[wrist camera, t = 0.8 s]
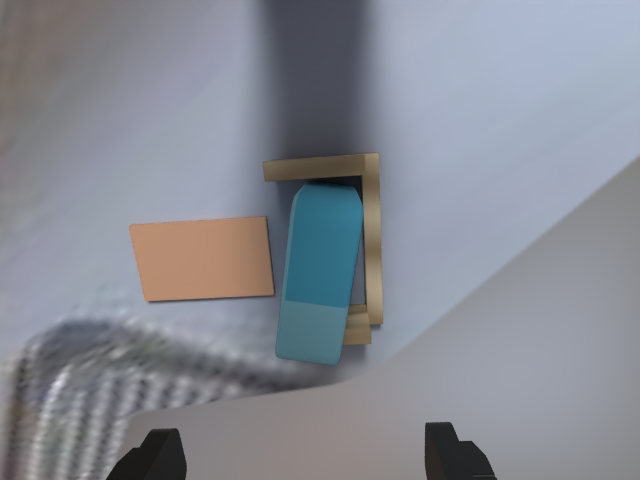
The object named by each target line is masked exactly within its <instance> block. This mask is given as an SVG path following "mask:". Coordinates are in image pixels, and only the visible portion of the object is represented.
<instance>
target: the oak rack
mask: <svg viewBox="0 0 640 480" xmlns="http://www.w3.org/2000/svg"><path fill="white" fill-rule="evenodd" d="M263 170H264V179H265V181H280V180H295V179H310V178H325V177H340V176H355V175H361V188H362V204H363V240H364V266H365V292H366V304H355V305H349V308H348V314H347V320H346V326H345V332H344V338H343V344H342V345H356V344H371V327H370V324H383V304H382V264H381V224H380V183H379V153H363V154H349V155H335V156H321V157H307V158H293V159H279V160H271V161H266V162H263Z"/></svg>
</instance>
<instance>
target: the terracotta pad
mask: <svg viewBox="0 0 640 480" xmlns="http://www.w3.org/2000/svg"><path fill="white" fill-rule="evenodd" d="M129 230H130V235H131V239H132V244H133V248H134V253H135V258H136V262H137V267H138V271H139V276H140V280H141V285H142V289H143V294H144V298H145V301H158V300H179V299H200V298H221V297H242V296H263V295H274V294H275V288H274V279H273V270H272V261H271V252H270V243H269V234H268V225H267V216H262V217H246V218H230V219H213V220H197V221H181V222H164V223H148V224H132V225H129Z"/></svg>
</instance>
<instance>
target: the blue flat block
mask: <svg viewBox="0 0 640 480" xmlns="http://www.w3.org/2000/svg"><path fill="white" fill-rule="evenodd" d="M362 222H363V204H362V202H361V200H360V198H359V196H358V194H357V191H356V189H355V188H354V187H352V186H345V185H337V184H330V183H322V182H315V181H306V183H305V184H304V185H303V186H302V187H301V189H300V190H299V191H298V192H297V194H296V195H295V196H294V199H293V202H292V207H291V213H290V220H289V229H288V238H287V248H286V257H285V266H284V276H283V285H282V294H281V304H280V313H279V322H278V331H277V341H276V356H277V357H278V358H283V359H291V360H298V361H305V362H312V363H320V364H327V365H334V366H335V365H337V364H338V363H339V360H340V356H341V350H342V344H343V338H344V332H345V326H346V320H347V314H348V308H349V302H350V296H351V290H352V284H353V278H354V272H355V266H356V260H357V254H358V248H359V242H360V236H361V229H362Z"/></svg>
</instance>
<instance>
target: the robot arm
mask: <svg viewBox="0 0 640 480" xmlns="http://www.w3.org/2000/svg"><path fill="white" fill-rule="evenodd" d="M425 469H426V476H427V480H497V478H495V475H494V472H493V470H492V468H491V465H490V463H489V461H488V459H487V457H486V455H485V454H484V453H483V452H482V451H481V450H480V449H479V448H478V447H477V446H476V445H475V444H474V443H473V442H472V441H459V440H458V437H457V435H456V432H455V430H454V428H453V425H452V424H451V423H450V422H435V423H434V422H432V423H426V425H425ZM186 471H187V465H186V460H185V455H184V451H183V447H182V442H181V438H180V434H179V431H178V429H176V428H174V429H173V428H172V429H153V430H151V431H150V432H149V433H148V435H147V437H146V438H145V440H144V441H143V443H142V444H141V446H140V448H133V449H132V450H130V451H129V452H128V453H127V454H126V455H125V456H124V457H123V458H122V459H121V460H119V461H118V462H117V464H116V465H115V467H114V468H113V470H112V471H111V473H110V474H109V476H108V477H107V479H106V480H185V478H186Z"/></svg>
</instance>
